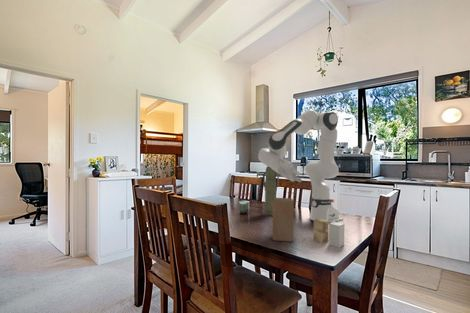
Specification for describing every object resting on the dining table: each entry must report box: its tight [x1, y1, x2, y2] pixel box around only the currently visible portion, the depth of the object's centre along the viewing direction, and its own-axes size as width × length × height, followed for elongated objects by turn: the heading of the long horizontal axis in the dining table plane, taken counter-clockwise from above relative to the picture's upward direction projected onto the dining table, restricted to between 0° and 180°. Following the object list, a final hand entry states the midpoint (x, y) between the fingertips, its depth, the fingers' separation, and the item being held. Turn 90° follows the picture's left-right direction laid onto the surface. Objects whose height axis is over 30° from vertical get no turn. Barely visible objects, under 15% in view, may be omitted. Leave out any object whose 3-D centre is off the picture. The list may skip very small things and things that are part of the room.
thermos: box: [262, 166, 280, 217], centre depth 184 cm, size 9×12×35 cm
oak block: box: [313, 219, 329, 243], centre depth 127 cm, size 5×5×10 cm
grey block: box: [328, 221, 345, 248], centre depth 121 cm, size 5×5×10 cm
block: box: [272, 197, 295, 243], centre depth 129 cm, size 10×10×20 cm
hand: (300, 177), depth 143 cm, fingers open, 8 cm apart
